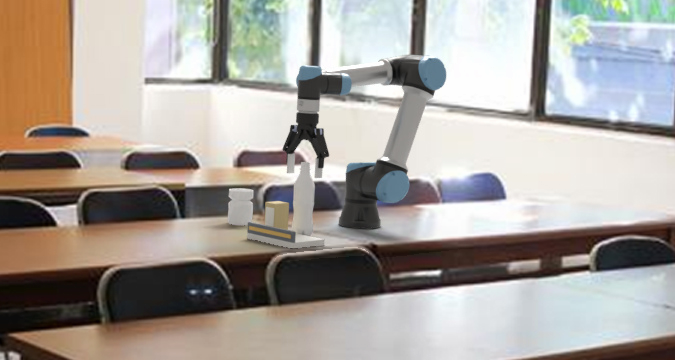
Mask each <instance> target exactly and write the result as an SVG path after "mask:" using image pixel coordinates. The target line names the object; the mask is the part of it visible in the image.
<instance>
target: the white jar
mask: <svg viewBox="0 0 675 360" xmlns="http://www.w3.org/2000/svg"><path fill="white" fill-rule="evenodd" d="M254 191H255V190H254V189H250V188H241V187H240V188H236V187H235V188H229V189H228V198H230V201H229V202H228V206H227V207H228V212H227V224H228V223H229V224H228V225H231V224H232V226H240V227H241V226H244V225H245V226H248V222H253V215H254V214H253V212H254V203H253V202H252V201H251V200H252V199H254V194H255V193H254ZM245 226H244V227H245Z"/></svg>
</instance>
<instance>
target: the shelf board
mask: <svg viewBox="0 0 675 360" xmlns="http://www.w3.org/2000/svg"><path fill="white" fill-rule="evenodd" d="M246 230H247V235H246V239H248V240H251V239H252V240H251V241H255V240H258V241H257V242H259V241H261V243H264V242H266V243H265V244H268V243H270V245H273V244H274V246H277V245H278V246H277V247H281V246H283V248H286V247H288V248H287V249H290V248H298V249H303V248H302V247H307V248H311V247H310V246H316V247H322V246H325V239H324V238H320V237H315V236H311V235H310V236H306V235H302V234H297V233H296V232H295V231H292V230H289V229H288V230H285V229H281V228H276V227H271V226H267V225H264V224H262V223H256V222H253V221H252V222H248V225H247V229H246Z"/></svg>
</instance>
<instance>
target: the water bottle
mask: <svg viewBox="0 0 675 360" xmlns="http://www.w3.org/2000/svg"><path fill="white" fill-rule="evenodd" d="M299 170H300V172H299V174H298V175H297V177H296V180H295V182H294V184H293V198H292V199H293V201H292V206H293V219H292V221H291V222H292V223H291V231H295V232H296V233H297V234H302V235H306V236H311V235H313V234H312V233H313V231H314V223H313V221H314V220H313V211H314V206H315V189H316V184H315V181H314V180H313V178H312V176H311V172H310V171H311V163H310V162H309V161H308V162H306V161H301V162H300V168H299Z"/></svg>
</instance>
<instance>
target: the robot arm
mask: <svg viewBox="0 0 675 360" xmlns="http://www.w3.org/2000/svg"><path fill="white" fill-rule="evenodd" d="M295 79H296V80H295V81H296V86H297V101H296V111H298V112H296V115H295V117H296V119H295V122H296V124H291V125H290V126H289V131H288V133H287V134H288V135H287V137H286V139H285V142H284V144H283V147H282V148H281V149H282V151H283V152H285V153H286V163H287V164H286V174H295V165H296V163H295V162H296V154H295V151H297V149H298V147H299V145H300V144H301V142H302V141H308V142H309V143H310V145H311V146H312V149H313V152H314V153H315V155H316V158H315V166H314V179H322V178H323V169H324V166H325V159H327V158H329V157H330V152H329V149H328V145H327V141H326V139H325V138H326V137H325V130H324V127H323V128H322V127H321V128H320V127H317V125H318V124H319V123H320V122H319V119H320V114H319V113H318V112H320V103H321V102H320V101H321V96H323V95H328V96H339V97H340V96H347V95H348V94H349V93H350V92H351V90H352V88H354V87H355V88H356V87H362V86H363V87H364V86H370V85H381V86H401V89H402V91H403V96H402V99H401V102H400V105H399V106H398V110H397V114H396V116H395V119H394V122H393V126H392V128H391V131H390V134H389V136H388V139H387V142H386V145H385V148H384V152H383V154H382V156H381V157H379V158H377V159H376V161H366V162H364V161H363V162H349V163H348V164H347V165H346V170H345V186H344V187H345V188H344V189H345V190H344V204H343V207H342V210H341V213H340V216H339V217H338V225H339V226H341V227H346V228H351V229H376V228H377V229H378V228H381V226H382V225H381V222H382V221H381V218H380V215H379V210H378V201H379V202H382V203H384V204H396V203H398V202H400V201H402V200H403V199H404V198H405V197H406V195H407V194H408V192H409V189H410V179H409V176H408V175H407V174H408V173H409V167H408V166H407V162H408V158H409V155H410V152H411V150H412V147H413V143H414V141H415V138H416V135H417V132H418V130H419V126H420V123H421V122H422V121H421V120H422V118H423V114H424V111H425V108H426V105H427V103H428V101H429V100H431V99H433V98H434V95H435V93H436V91H437V90H440V89H441V88H442V87H444V85H445V83H446V82H447V81H446V80H447V69H446V67H445V64H444V62H443V61H442V60H441V59H440V58H439V57H436V56H432V55H423V54H422V55H420V54H419V55H417V54H402V55H398V56H396V55H395V56H392V57H387V58H386V57H385V58H381V59H379V60H378V61H377V62H370V63H363V64H354V65H347V66H338V67H329V68H323V69H322V67H321V66H318V65H301V66H300V67H299V69H298V74H297V76H296V78H295Z"/></svg>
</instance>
